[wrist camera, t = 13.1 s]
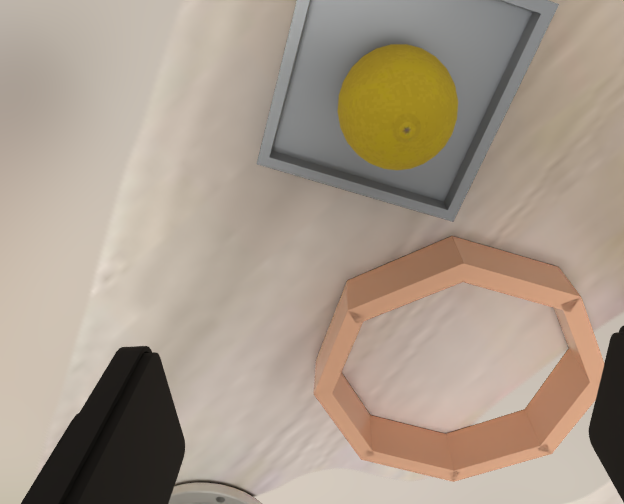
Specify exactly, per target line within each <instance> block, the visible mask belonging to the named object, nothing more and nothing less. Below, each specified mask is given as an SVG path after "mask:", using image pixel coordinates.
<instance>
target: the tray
mask: <svg viewBox="0 0 624 504" xmlns="http://www.w3.org/2000/svg"><path fill="white" fill-rule="evenodd" d="M558 5H559V4H557V3H554V2H551V1H548V0H297V2H296V6H295V10H294V14H293V18H292V22H291V26H290V30H289V35H288V39H287V43H286V47H285V51H284V55H283V59H282V63H281V67H280V71H279V75H278V79H277V83H276V87H275V91H274V95H273V100H272V104H271V108H270V112H269V116H268V120H267V124H266V128H265V132H264V136H263V140H262V144H261V148H260V152H259V156H258V160H257V164H258V165H261V166H265V167H268V168H272V169H275V170H278V171H282V172H285V173H289V174H292V175H295V176H299V177H302V178H306V179H309V180H312V181H316V182H319V183H323V184H326V185H329V186H333V187H336V188H340V189H343V190H346V191H350V192H353V193H357V194H360V195H363V196H367V197H370V198H374V199H377V200H381V201H384V202H387V203H391V204H394V205H398V206H401V207H404V208H408V209H411V210H415V211H418V212H421V213H425V214H428V215H432V216H435V217H438V218H442V219H445V220H449V221H452V222H453V221H454V219H455V217H456V215H457V213H458V211H459V209H460V207H461V205H462V203H463V201H464V199H465V197H466V195H467V193H468V191H469V188H470V186H471V184H472V182H473V180H474V178H475V176H476V174H477V172H478V170H479V168H480V166H481V164H482V162H483V160H484V158H485V156H486V153H487V151H488V149H489V147H490V145H491V143H492V141H493V139H494V137H495V135H496V133H497V131H498V129H499V127H500V125H501V123H502V121H503V119H504V116H505V114H506V112H507V110H508V108H509V106H510V104H511V102H512V100H513V98H514V96H515V94H516V92H517V90H518V88H519V86H520V84H521V81H522V79H523V77H524V75H525V73H526V71H527V69H528V67H529V65H530V63H531V61H532V59H533V57H534V55H535V53H536V51H537V49H538V47H539V44H540V42H541V40H542V38H543V36H544V34H545V32H546V30H547V28H548V26H549V24H550V22H551V20H552V18H553V16H554V14H555V12H556V9H557V7H558ZM390 44H408V45H411V46H415V47H419V48H422V49H424V50H425V51H427V52H429V53H430V54H432V55H434V56H435V57H437V59H438V60H439V61H440V62H441V63H442V64H443V65H444V66H445V67H446V68H447V70H448V72H449V74H450V76H451V78H452V80H453V82H454V84H455V87H456V93H457V98H458V113H457V121H456V124H455V127H454V130H453V133H452V135H451V137H450V138H449V140H448V142H447V143H446V145H445V147H444V148H443V149H442V150H441V151H440V152H439V153H438V154H437V155H436V156H435V157H433V158H432V159H430V160H429V161H427V162H426V163H424V164H422V165H419V166H417V167H414V168H411V169H405V170H389V169H383V168H380V167H377V166H375V165H372V164H370V163H368V162H367V161H366V160H364V159H363V158H361V157H360V156H359V155H357V154H356V152H355V151H354V150H353V149H352V148H351V146H350V145H349V144H348V143H347V141H346V139H345V137H344V134H343V132H342V130H341V128H340V123H339V117H338V99H339V93H340V90H341V87H342V84H343V81H344V79H345V77H346V76H347V74H348V73H349V71H350V69H351V68H352V67H353V66H354V65H355V64H356V63H357V62H358V61H359V60H360V59H361V58H362V57H363V56H364V55H366V54H368V53H369V52H371V51H373V50H375V49H376V48H380V47H383V46H387V45H390Z"/></svg>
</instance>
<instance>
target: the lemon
mask: <svg viewBox="0 0 624 504" xmlns="http://www.w3.org/2000/svg"><path fill="white" fill-rule="evenodd" d="M457 113H458V98H457V93H456V87H455V84H454V82H453V80H452V78H451V76H450V74H449V72H448V70H447V68H446V67H445V66H444V65H443V64H442V63H441V62H440V61H439V60H438V59H437V57H435V56H434V55H432V54H430V53H429V52H427V51H425V50H424V49H422V48H419V47H415V46H411V45H408V44H390V45H387V46H383V47H380V48H376V49H375V50H373V51H371V52H369V53H368V54H366V55H364V56H363V57H362V58H361V59H360V60H359V61H358V62H357V63H356V64H355V65H354V66H353V67H352V68H351V69H350V71H349V73H348V74H347V76H346V77H345V79H344V81H343V84H342V87H341V90H340V93H339V99H338V117H339V123H340V128H341V130H342V132H343V134H344V137H345V139H346V141H347V143H348V144H349V145H350V146H351V148H352V149H353V150H354V151H355V152H356V154H357V155H359V156H360V157H361V158H363V159H364V160H366V161H367V162H368V163H370V164H372V165H375V166H377V167H380V168H383V169H389V170H405V169H411V168H414V167H417V166H419V165H422V164H424V163H426V162H427V161H429V160H430V159H432V158H433V157H435V156H436V155H437V154H438V153H439V152H440V151H441V150H442V149H443V148H444V147H445V145H446V143H447V142H448V140H449V138H450V137H451V135H452V133H453V130H454V127H455V124H456V121H457Z"/></svg>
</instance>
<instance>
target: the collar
mask: <svg viewBox="0 0 624 504" xmlns="http://www.w3.org/2000/svg"><path fill="white" fill-rule="evenodd" d="M461 282H465V283H469V284H472V285H476V286H479V287H483V288H486V289H490V290H493V291H497V292H501V293H504V294H508V295H511V296H515V297H518V298H522V299H525V300H529V301H532V302H536V303H540V304H543V305H547V306H550V307H553V308H554V310H555V313H556V315H557V318H558V321H559V323H560V326H561V328H562V331H563V334H564V336H565V339H566V341H567V344H568V347H569V349H568V350H567V351H566V353H565V354H564V356H563V357H562V358H561V360H560V361H559V362H558V364H557V365H556V367H555V368H554V369H553V371H552V372H551V374H550V375H549V376H548V378H547V379H546V381H545V382H544V383H543V385H542V386H541V387H540V389H539V390H538V392H537V393H536V394H535V396H534V397H533V399H532V400H531V401H530V403H529V404H528V405H527V407H526V408H525V409H524V410H521V411H517V412H514V413H511V414H508V415H505V416H502V417H498V418H495V419H492V420H489V421H486V422H482V423H479V424H476V425H473V426H469V427H466V428H463V429H460V430H457V431H453V432H450V433H447V434H444V433H440V432H436V431H432V430H428V429H424V428H420V427H416V426H412V425H408V424H404V423H400V422H396V421H392V420H388V419H384V418H380V417H376V416H372V415H370V414H369V413H368V411H367V410H366V408H365V407H364V405H363V404H362V402H361V401H360V399H359V398H358V396H357V395H356V393H355V392H354V390H353V389H352V387H351V386H350V384H349V383H348V381H347V380H346V379H345V377H344V376H343V374H342V373H341V372H342V369H343V367H344V365H345V362H346V360H347V358H348V355H349V353H350V351H351V348H352V346H353V344H354V342H355V339H356V337H357V335H358V332H359V330H360V328H361V325H362V323H363V321H366V320H368V319H371V318H373V317H376V316H378V315H381V314H383V313H386V312H388V311H391V310H393V309H396V308H398V307H401V306H403V305H406V304H408V303H411V302H413V301H416V300H418V299H421V298H424V297H426V296H429V295H431V294H434V293H436V292H439V291H441V290H444V289H446V288H449V287H451V286H454V285H456V284H459V283H461ZM603 368H604V361H603V358H602V355H601V353H600V350H599V347H598V344H597V341H596V338H595V335H594V332H593V330H592V327H591V324H590V321H589V318H588V315H587V312H586V309H585V307H584V304H583V301H582V298H581V296H580V295H579V293H578V292H577V291H576V289H575V288H574V287H573V285H572V284H571V283H570V281H569V280H568V279H567V277H566V276H565V275H564V273H563V272H562V271H561V269H560V268H559V267H557V266H554V265H550V264H547V263H543V262H540V261H536V260H533V259H529V258H526V257H523V256H519V255H516V254H512V253H509V252H505V251H502V250H499V249H495V248H492V247H488V246H485V245H481V244H478V243H474V242H471V241H468V240H464V239H461V238H457V237H454V236H451V237H448V238H446V239H444V240H441V241H439V242H437V243H434V244H432V245H430V246H427V247H425V248H423V249H420V250H418V251H416V252H413V253H411V254H408V255H406V256H404V257H401V258H399V259H397V260H394V261H392V262H390V263H387V264H385V265H383V266H380V267H378V268H376V269H373V270H371V271H369V272H366V273H364V274H362V275H359V276H357V277H355V278H352V279H350V280H348V281H347V282H346V285H345V287H344V290H343V292H342V295H341V297H340V300H339V303H338V305H337V308H336V310H335V313H334V315H333V318H332V320H331V323H330V326H329V328H328V331H327V333H326V336H325V338H324V341H323V343H322V346H321V349H320V351H319V354H318V356H317V359H316V367H315V382H314V395H315V397H316V398H317V399H318V401H319V402H320V403H321V405H322V406H323V408H324V409H325V410H326V412H327V413H328V414H329V416H330V417H331V419H332V420H333V421H334V423H335V424H336V425H337V427H338V428H339V430H340V431H341V432H342V434H343V435H344V437H345V438H346V439H347V441H348V442H349V443H350V445H351V446H352V448H353V449H354V450H355V452H356V453H357V454H358V456H359V457H360V459H361V460H365V461H370V462H374V463H378V464H382V465H386V466H390V467H395V468H399V469H403V470H407V471H411V472H415V473H420V474H424V475H428V476H432V477H436V478H440V479H445V480H449V481H457V480H461V479H465V478H468V477H472V476H475V475H479V474H482V473H486V472H489V471H493V470H496V469H500V468H503V467H507V466H511V465H514V464H517V463H521V462H525V461H528V460H532V459H535V458H539V457H542V456H546V455H549V454H552V453H553V451H554V450H555V449H556V448H557V447H558V445H559V444H560V443H561V442H562V441H563V439H564V438H565V437H566V436H567V434H568V433H569V432H570V431H571V429H572V428H573V427H574V426H575V425H576V423H577V422H578V421H579V420H580V418H581V417H582V416H583V415H584V414H585V412H586V411H587V410H588V409H589V407H590V406H591V405H592V403H593V402H594V401H595V400H596V397H597V392H598V388H599V384H600V380H601V376H602V372H603Z"/></svg>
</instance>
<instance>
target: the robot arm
mask: <svg viewBox="0 0 624 504" xmlns="http://www.w3.org/2000/svg"><path fill="white" fill-rule="evenodd" d="M589 437H590V441H591V444H592V446H593V448H594V450H595V452H596V454H597V456H598V457H599V459H600V461H601V463H602V464H603V466H604V468H605V470H606V471H607V473H608V475H609V477H610V479H611V481H612V482H613V484H614V486H615V488H616V489H617V491H618V493H619V495H620V497H621V498H622V500H623V502H624V326H622V327H621V328H620V330H619V333H614V334H613V335H612V336H611V339H610V343H609V347H608V351H607V355H606V360H605V363H604V368H603V372H602V376H601V380H600V384H599V388H598V392H597V397H596V401H595V405H594V409H593V413H592V418H591V421H590V426H589ZM184 453H185V440H184V436H183V433H182V430H181V426H180V423H179V420H178V416H177V413H176V409H175V406H174V403H173V399H172V396H171V393H170V389H169V386H168V382H167V379H166V376H165V372H164V369H163V366H162V362H161V359H160V356H159V354H158V353H152V351H151V349H150V348H149V347H147V346H139V347H122V348H119V350H118V351H117V352H116V354H115V355H114V357H113V359H112V360H111V362H110V363H109V365H108V367H107V368H106V370H105V372H104V373H103V375H102V377H101V378H100V380H99V382H98V383H97V385H96V387H95V388H94V390H93V391H92V393H91V395H90V396H89V398H88V400H87V401H86V403H85V405H84V406H83V408H82V410H81V411H80V413H78V414H77V415H76V416H75V417H74V419H73V420H72V421H71V423H70V424H69V426H68V428H67V429H66V431H65V433H64V434H63V436H62V437H61V439H60V441H59V442H58V444H57V446H56V447H55V449H54V451H53V452H52V454H51V455H50V457H49V459H48V460H47V462H46V464H45V465H44V467H43V468H42V470H41V472H40V473H39V475H38V477H37V478H36V480H35V481H34V483H33V485H32V486H31V488H30V490H29V491H28V493H27V494H26V496H25V498H24V499H23V501H22V503H21V504H262V503H260V502H259V501H258V500H257V499H256V498H254V497H252V496H251V495H249V494H247V493H245V492H243V491H241V490H238V489H236V488H233V487H229V486H225V485H221V484H214V483H187V484H182V485H178V486H174V485H175V482H176V479H177V476H178V473H179V470H180V467H181V464H182V461H183V457H184Z"/></svg>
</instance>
